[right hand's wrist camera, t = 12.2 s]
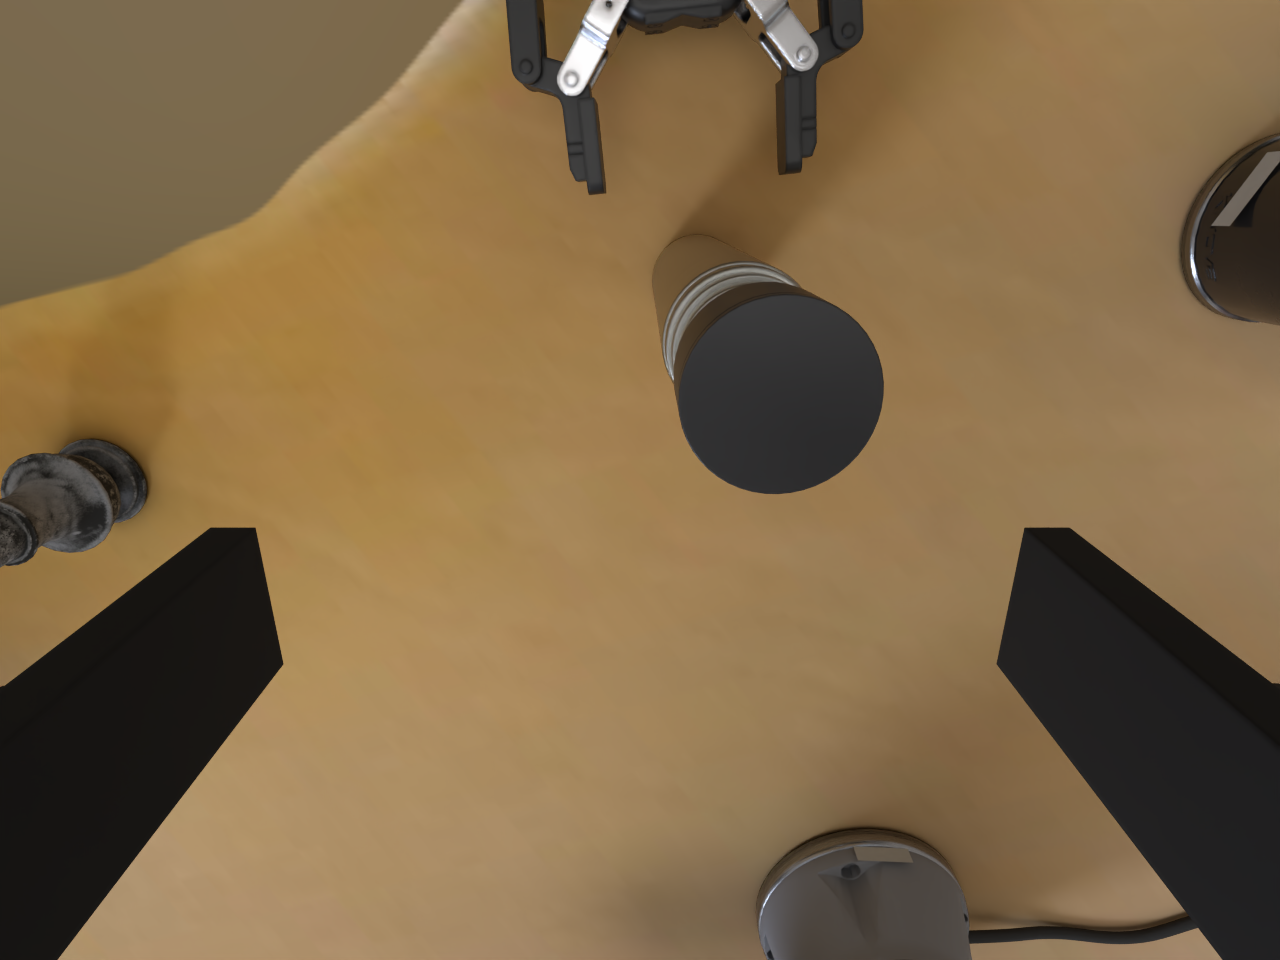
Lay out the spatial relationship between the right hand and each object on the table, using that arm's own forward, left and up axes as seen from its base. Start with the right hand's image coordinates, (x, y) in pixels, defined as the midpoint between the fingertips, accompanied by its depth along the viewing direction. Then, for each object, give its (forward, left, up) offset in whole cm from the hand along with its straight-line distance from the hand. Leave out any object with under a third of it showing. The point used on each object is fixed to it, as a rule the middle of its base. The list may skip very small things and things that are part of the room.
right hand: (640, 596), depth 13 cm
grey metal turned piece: (+23, +24, -30) cm, 45 cm away
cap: (-1, -4, -7) cm, 8 cm away
